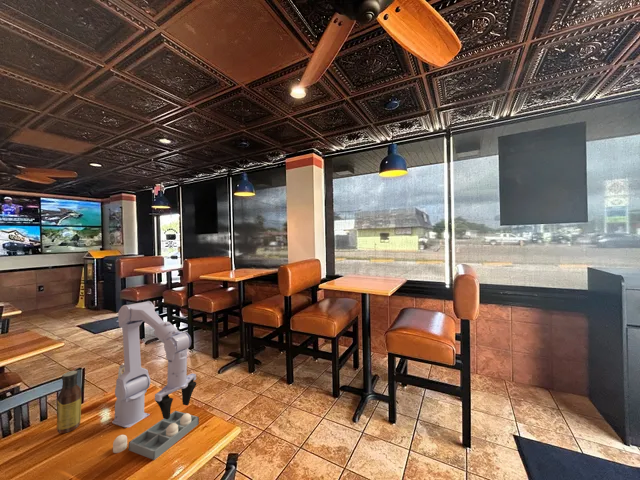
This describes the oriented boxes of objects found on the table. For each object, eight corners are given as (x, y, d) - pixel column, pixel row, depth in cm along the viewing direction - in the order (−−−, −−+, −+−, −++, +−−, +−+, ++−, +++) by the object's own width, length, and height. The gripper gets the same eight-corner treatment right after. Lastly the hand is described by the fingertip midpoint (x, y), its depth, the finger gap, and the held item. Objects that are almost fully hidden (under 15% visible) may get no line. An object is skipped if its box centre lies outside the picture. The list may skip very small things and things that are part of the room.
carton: (128, 451, 81) (128, 442, 81) (175, 418, 97) (175, 410, 97) (154, 462, 77) (154, 451, 77) (198, 425, 93) (198, 417, 93)
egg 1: (110, 453, 80) (110, 438, 80) (122, 445, 84) (122, 430, 84) (117, 456, 79) (118, 441, 79) (129, 447, 82) (130, 433, 83)
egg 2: (163, 440, 85) (163, 426, 85) (172, 433, 88) (173, 419, 88) (171, 443, 84) (171, 428, 84) (180, 435, 87) (180, 421, 87)
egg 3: (177, 429, 90) (177, 416, 90) (186, 423, 93) (186, 410, 94) (185, 431, 89) (185, 418, 89) (193, 425, 92) (193, 412, 92)
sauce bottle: (63, 424, 94) (65, 369, 94) (84, 421, 96) (86, 367, 96) (51, 437, 87) (53, 378, 88) (73, 432, 89) (75, 375, 90)
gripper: (166, 382, 78) (165, 427, 78) (202, 363, 92) (202, 401, 92) (150, 379, 81) (149, 422, 80) (187, 360, 94) (187, 397, 94)
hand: (176, 411), depth 86 cm, fingers open, 7 cm apart
